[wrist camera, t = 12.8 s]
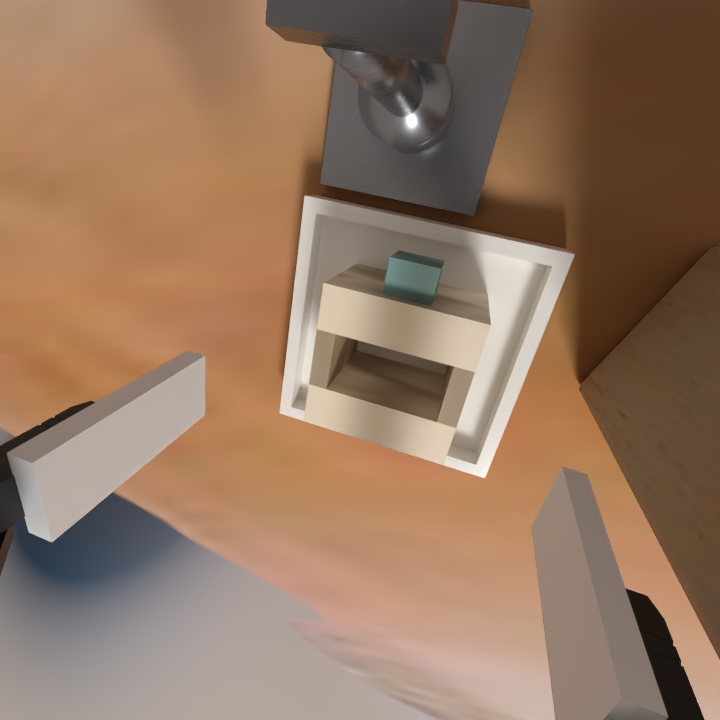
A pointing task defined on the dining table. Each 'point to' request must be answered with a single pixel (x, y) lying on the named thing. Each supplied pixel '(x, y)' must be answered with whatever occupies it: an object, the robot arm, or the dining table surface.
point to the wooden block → (672, 428)
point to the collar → (400, 333)
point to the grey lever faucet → (411, 91)
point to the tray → (461, 269)
